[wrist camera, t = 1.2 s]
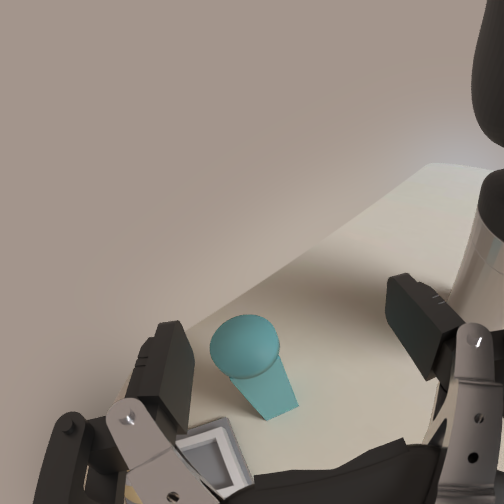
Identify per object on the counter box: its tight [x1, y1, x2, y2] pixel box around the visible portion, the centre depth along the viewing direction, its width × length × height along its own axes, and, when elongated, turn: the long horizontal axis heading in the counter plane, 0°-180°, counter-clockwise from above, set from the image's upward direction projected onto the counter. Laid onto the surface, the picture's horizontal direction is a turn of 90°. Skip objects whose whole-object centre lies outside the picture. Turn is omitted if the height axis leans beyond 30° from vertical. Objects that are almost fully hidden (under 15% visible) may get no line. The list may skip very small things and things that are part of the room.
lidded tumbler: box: [210, 315, 299, 421], centre depth 25 cm, size 5×5×14 cm
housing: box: [124, 417, 254, 504], centre depth 22 cm, size 16×11×4 cm
